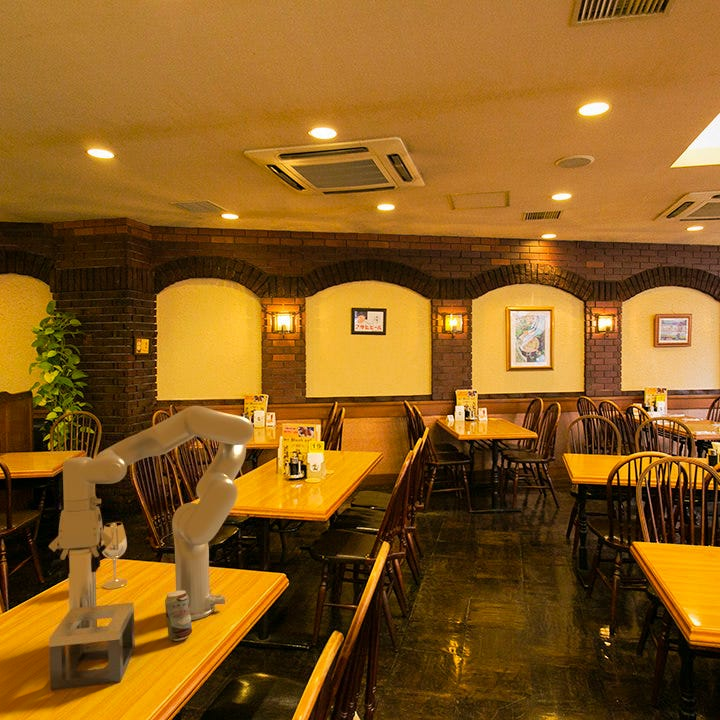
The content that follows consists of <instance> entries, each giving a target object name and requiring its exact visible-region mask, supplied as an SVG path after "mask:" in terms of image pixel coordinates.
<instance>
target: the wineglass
mask: <svg viewBox="0 0 720 720" xmlns="http://www.w3.org/2000/svg"><path fill="white" fill-rule="evenodd" d="M103 532H104V533H105V534H107V535H108V536H109V537H110V538H111V539H112V542H111V543H110V544H109V545H108V546H107V547H106V548H105V550H104V551H103V552H102V553H101V554H103V556H104V557H105V558H108V559H109V560H111V561H112V563H113V565H112V566H113V577H112V578H113V579H111V580H108V581H106V582H104V583H103V584H102V588H103V589H106V590H113V589H114V590H115V589H119V588H122V587H124V586H126V585H128V580H127V579H124V578H117V559H119V558H120V557H122V555H124V554H125V552H126V550H127V547H128V542H127V536H126V531H125V528H124V525H123V522H121V521H115V522H114V521H113V522H108V523H106V524H105V525H103ZM100 543H101V544H100V547H101V546H102V545H103V544H104V543H105V542H104V540H102V541H100Z"/></svg>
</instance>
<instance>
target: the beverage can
mask: <svg viewBox="0 0 720 720" xmlns="http://www.w3.org/2000/svg"><path fill="white" fill-rule="evenodd" d="M164 604H165V615H166V625H167V637H168V639H170V640H172V641H174V642H176V641H177V642H178V641H183V640H185V639H187V638H188V637H189V636H190V635H191V634H192V632H193V627H192V620H191V615H190V606H189V596H188V594H187V593H186V591H185V590H179V591H176V590H175V591H172V592H169V593H167V594H166V598H165V600H164Z"/></svg>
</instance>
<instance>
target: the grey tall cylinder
mask: <svg viewBox="0 0 720 720" xmlns="http://www.w3.org/2000/svg"><path fill="white" fill-rule="evenodd" d="M93 557H94V556H93V553H92V551H91V549H90V547H89V548H76V549H69V553H68V570H69V573H68V599H69V600H68V603H69V605H68V606H69V608H68V609H69V611H70V609H71V608H81V607H91V606H97V577H96V576H97V575H96V572H97V571H96V572H92V558H93ZM69 611H68V612H69ZM89 627H98V619H95V620H85V621H82V628H89ZM92 643H93V642H90V643H83V646H89V645H90V644H92Z"/></svg>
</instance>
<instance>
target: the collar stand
mask: <svg viewBox="0 0 720 720" xmlns="http://www.w3.org/2000/svg"><path fill="white" fill-rule="evenodd" d="M95 619H97V620H103V619H111V620H110V622H108V625H102V626H101V625H99V626H97V627H89V628H82V621H85V620H95ZM135 639H136V638H135V603H134V601H133V602H125V603H115V604H104V605H103V604H102V605H96V606H91V607H81V608H71V609H70V611H68V612H67V613H66V615H65V616H64V617H63V619H62V620H61V621H60V623H59V624H58V625H57V626H56V628H55V629H54V631H53V632H52V633H51V635H50V636H49V637H48V642H49V643H48V645H49V646H48V647H49V677H50V678H49V679H50V691H57V690H67V689H74V688H83V687H84V688H85V687H91V686H101V685H108V684H115V683H116V684H117V683H121V682H122V680H123V678H124V674H125V673H126V670H127V668H128V665H129V664H130V661H131V659H132V656H133V654H134V651H135V648H136V644H135V643H136V641H135ZM90 642H92V643H98V642H99V643H100V642H107V643H104V644H95V645H93V644H92V645H84V646H83V643H90ZM90 644H91V643H90ZM66 646H68V654H67V655H66ZM101 659H102V660H103V659H108V667H103V668H95V669H85V670H78V669H79V667H80V665H81V664H82V662H84V661H92V660H93V661H94V660H101Z"/></svg>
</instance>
